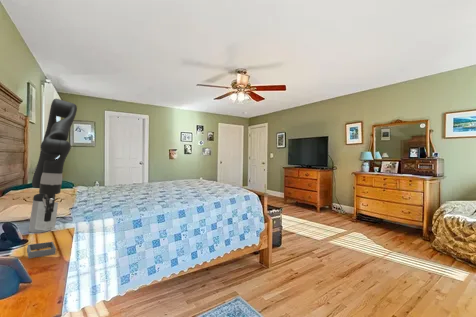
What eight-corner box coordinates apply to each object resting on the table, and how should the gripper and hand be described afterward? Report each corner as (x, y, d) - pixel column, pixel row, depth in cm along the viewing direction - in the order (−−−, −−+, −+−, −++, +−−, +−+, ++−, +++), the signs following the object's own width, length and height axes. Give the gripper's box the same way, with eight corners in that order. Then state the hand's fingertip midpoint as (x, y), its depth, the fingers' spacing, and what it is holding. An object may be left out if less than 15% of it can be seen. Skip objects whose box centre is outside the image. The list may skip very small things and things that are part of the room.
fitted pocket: (26, 250, 101) (27, 244, 101) (52, 246, 107) (52, 241, 107) (28, 258, 94) (29, 252, 94) (55, 254, 100) (55, 248, 100)
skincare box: (55, 228, 103) (58, 202, 104) (46, 231, 99) (50, 203, 99) (43, 227, 104) (46, 201, 104) (34, 229, 99) (37, 202, 100)
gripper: (38, 181, 104) (33, 216, 104) (42, 184, 94) (36, 224, 94) (59, 181, 110) (54, 215, 109) (64, 184, 100) (59, 222, 99)
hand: (46, 219), depth 101 cm, fingers closed on skincare box, 7 cm apart
